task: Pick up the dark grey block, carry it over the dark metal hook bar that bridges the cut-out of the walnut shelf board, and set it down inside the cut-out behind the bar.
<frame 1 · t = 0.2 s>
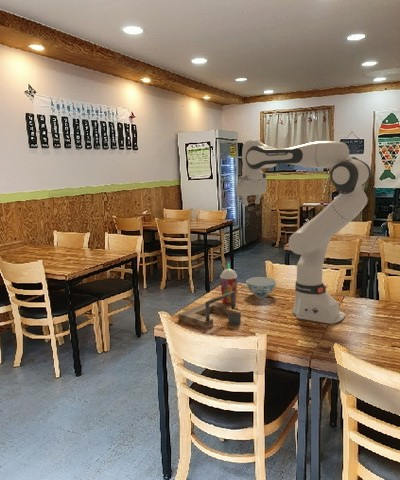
hand: (251, 204, 195), 47 cm above the table, fingers open, 8 cm apart
smoothie: (229, 303, 199), on the table
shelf: (208, 317, 181), on the table
chinaware: (261, 295, 209), on the table
dark grey block: (234, 322, 174), on the table
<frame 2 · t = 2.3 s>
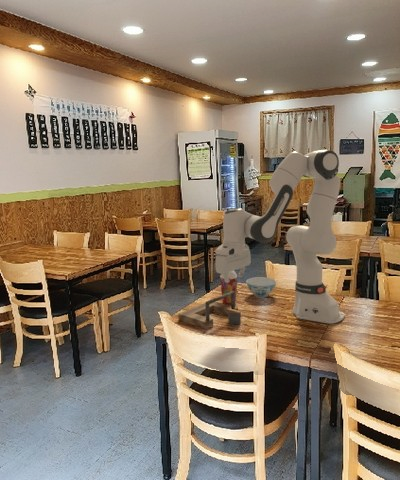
hand: (234, 279, 171), 19 cm above the table, fingers open, 8 cm apart
nothing on the table moved.
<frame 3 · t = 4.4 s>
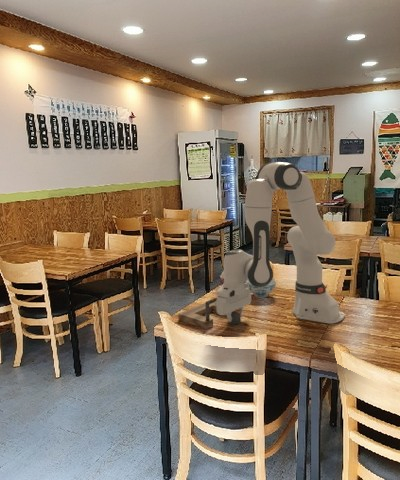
hand: (234, 318, 174), 2 cm above the table, fingers closed on dark grey block, 5 cm apart
dark grey block: (234, 322, 174), on the table, touching gripper
everything else where it was.
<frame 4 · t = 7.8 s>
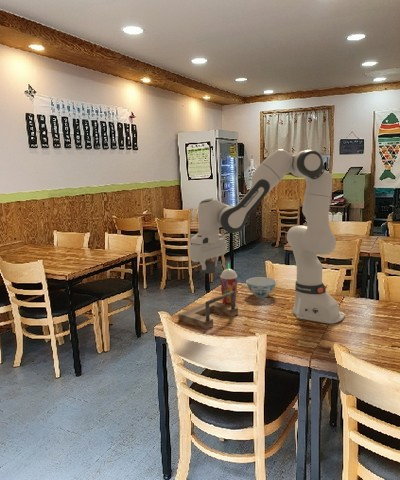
hand: (209, 268, 176), 23 cm above the table, fingers closed on dark grey block, 5 cm apart
dark grey block: (209, 271, 177), point 21 cm above the table, touching gripper
everything else where it was.
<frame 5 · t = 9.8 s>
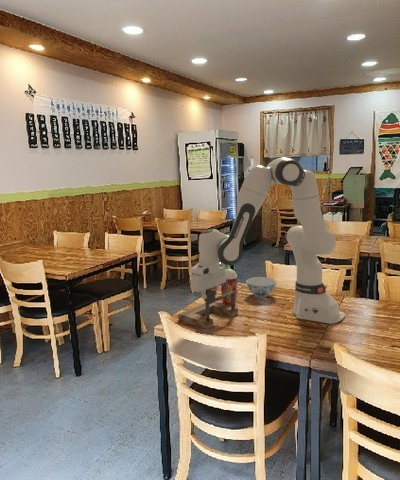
hand: (209, 296, 179), 10 cm above the table, fingers closed on dark grey block, 5 cm apart
dark grey block: (209, 300, 179), point 8 cm above the table, touching gripper
everything else where it was.
when the fingers open (4 cm above the table, at t = 11.5 s): dark grey block drops 2 cm, on the table.
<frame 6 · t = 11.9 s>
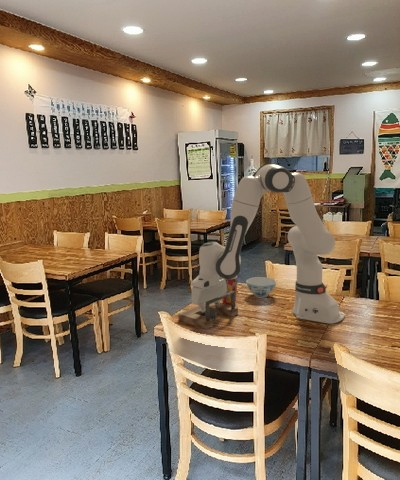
hand: (210, 308, 180), 4 cm above the table, fingers open, 8 cm apart
dark grey block: (210, 317, 181), on the table
everything else where it was.
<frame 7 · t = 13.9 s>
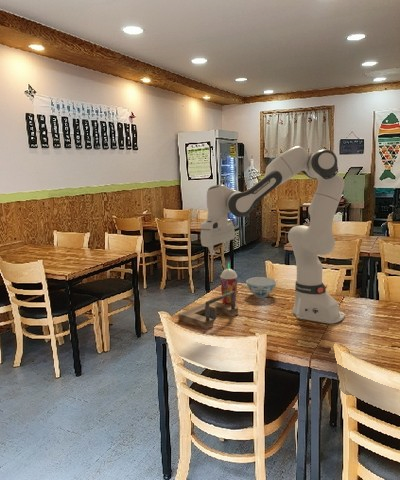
hand: (219, 252, 181), 28 cm above the table, fingers open, 8 cm apart
nothing on the table moved.
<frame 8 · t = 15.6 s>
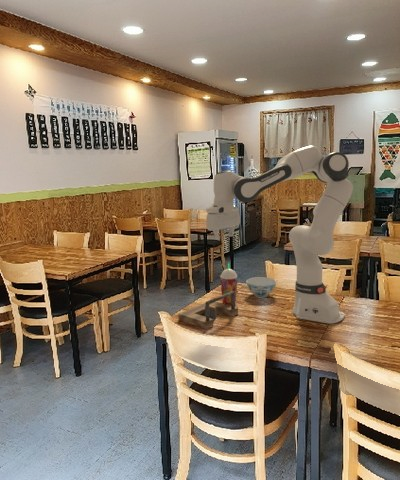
hand: (224, 237, 184), 34 cm above the table, fingers open, 8 cm apart
nothing on the table moved.
at the end: dark grey block inside the target area on the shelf (0.2 cm from its centre), point 0.0 cm above the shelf's base; the gripper is holding nothing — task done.
